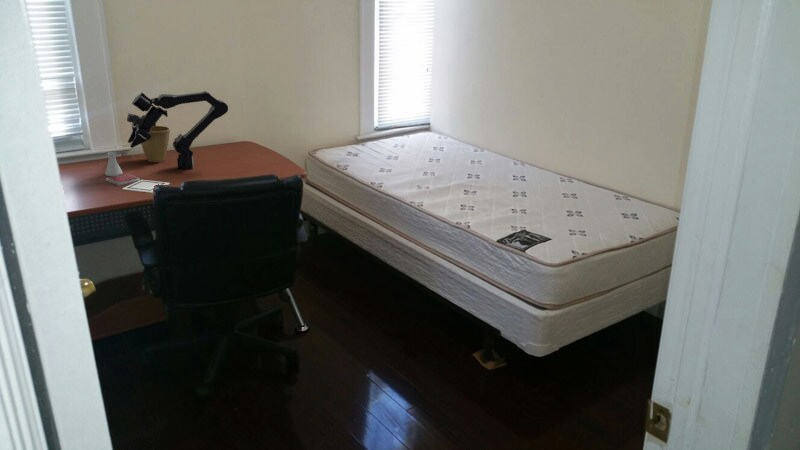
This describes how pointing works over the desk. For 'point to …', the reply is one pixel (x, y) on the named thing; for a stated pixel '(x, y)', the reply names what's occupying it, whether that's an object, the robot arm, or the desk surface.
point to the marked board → (144, 186)
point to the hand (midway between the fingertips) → (129, 144)
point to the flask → (113, 166)
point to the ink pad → (122, 179)
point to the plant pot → (157, 144)
